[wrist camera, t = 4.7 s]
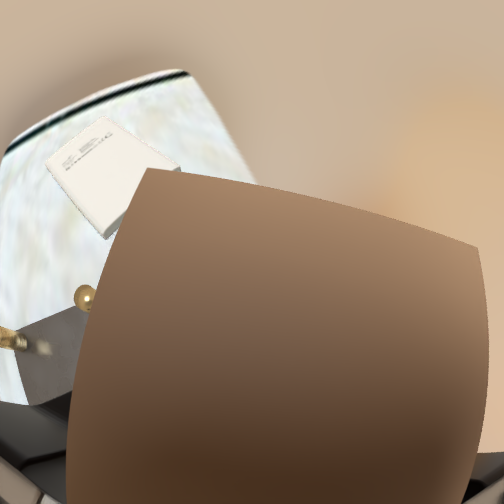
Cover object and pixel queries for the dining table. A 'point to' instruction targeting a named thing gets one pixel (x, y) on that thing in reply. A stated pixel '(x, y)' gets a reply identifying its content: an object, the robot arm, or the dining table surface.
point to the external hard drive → (104, 171)
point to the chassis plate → (50, 349)
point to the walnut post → (276, 354)
